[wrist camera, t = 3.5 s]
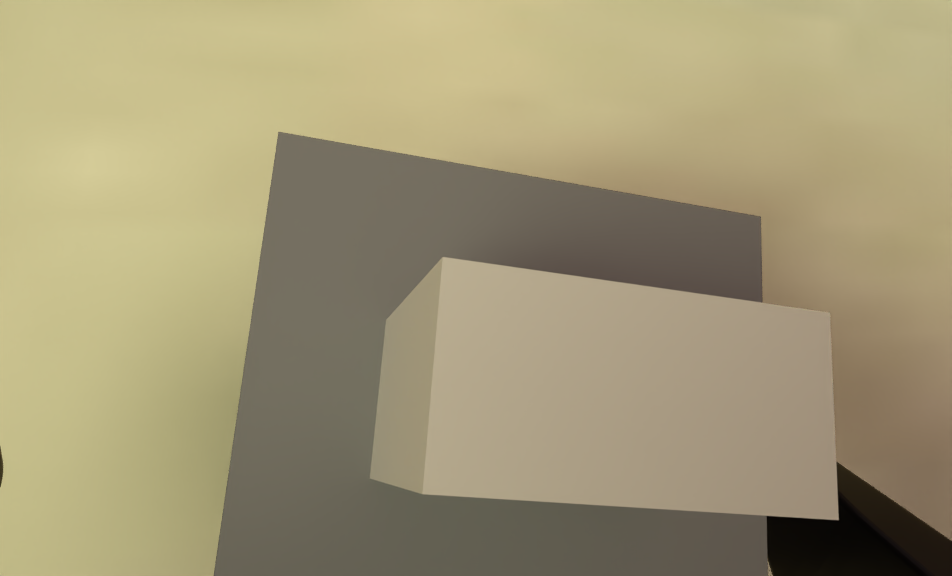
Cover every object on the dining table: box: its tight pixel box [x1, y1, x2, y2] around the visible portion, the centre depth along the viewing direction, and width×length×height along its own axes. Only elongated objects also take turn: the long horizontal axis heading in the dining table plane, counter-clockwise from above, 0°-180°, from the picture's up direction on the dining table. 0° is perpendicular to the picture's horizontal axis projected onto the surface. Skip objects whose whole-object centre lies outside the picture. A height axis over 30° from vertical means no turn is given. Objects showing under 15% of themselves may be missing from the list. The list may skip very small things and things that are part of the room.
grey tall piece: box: [214, 132, 839, 576], centre depth 10 cm, size 4×4×13 cm
